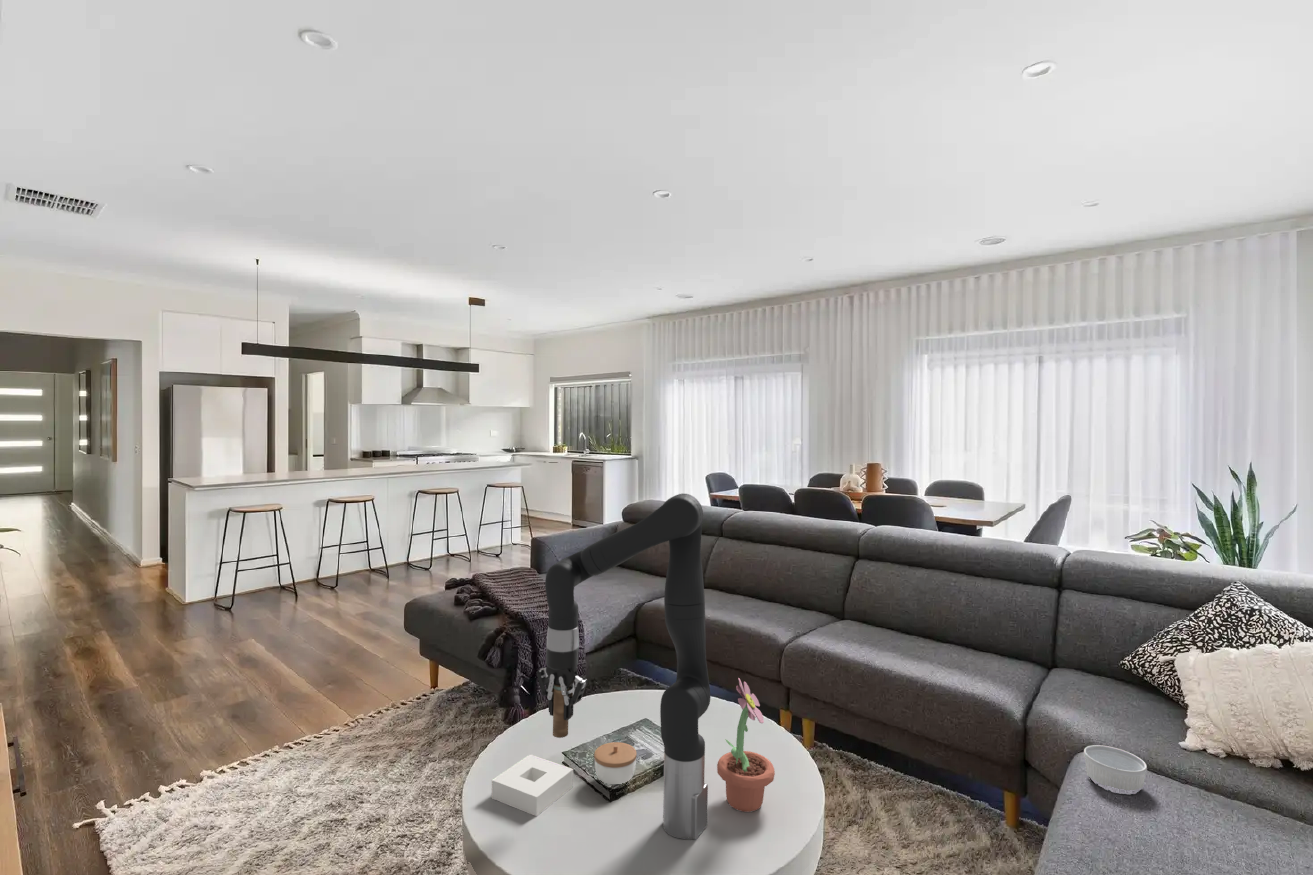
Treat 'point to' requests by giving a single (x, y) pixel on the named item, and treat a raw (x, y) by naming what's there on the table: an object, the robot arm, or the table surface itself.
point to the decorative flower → (745, 762)
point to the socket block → (532, 784)
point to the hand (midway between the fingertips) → (560, 716)
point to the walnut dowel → (559, 714)
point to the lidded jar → (615, 762)
